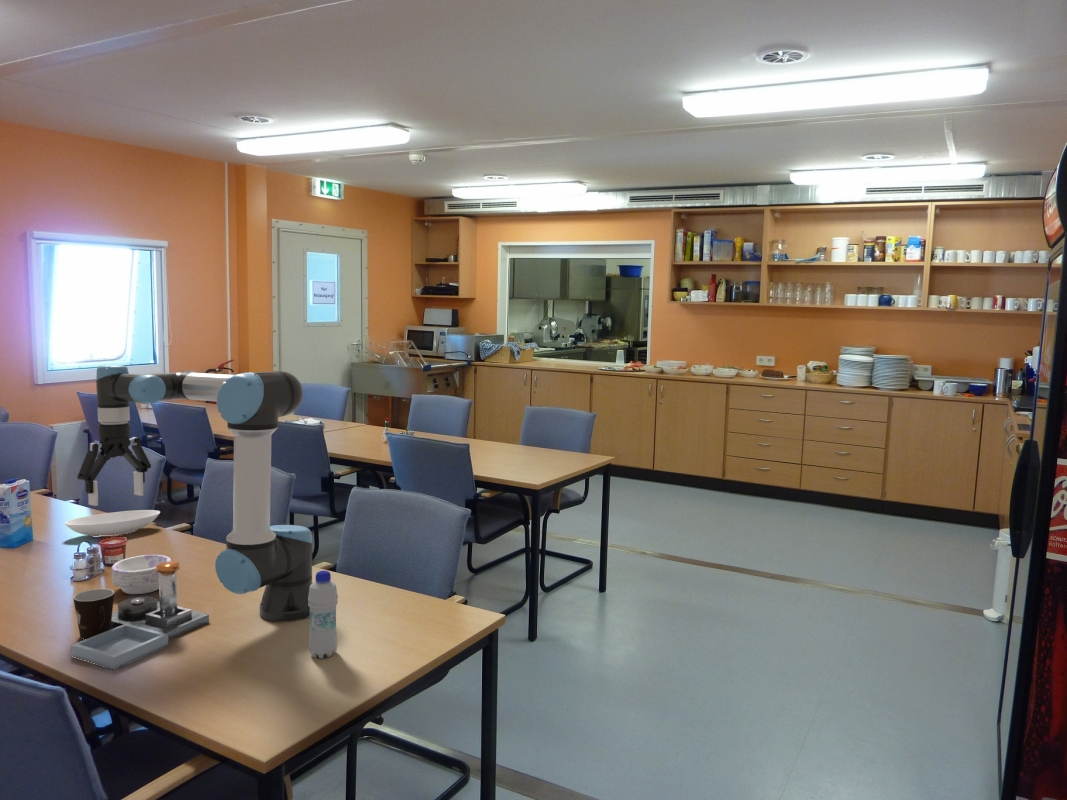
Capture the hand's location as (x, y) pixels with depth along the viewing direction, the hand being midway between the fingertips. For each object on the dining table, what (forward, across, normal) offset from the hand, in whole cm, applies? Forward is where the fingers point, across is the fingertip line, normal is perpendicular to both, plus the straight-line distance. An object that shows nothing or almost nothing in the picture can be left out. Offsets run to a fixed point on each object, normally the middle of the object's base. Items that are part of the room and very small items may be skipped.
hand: (116, 500), depth 207 cm
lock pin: (+26, +8, +28) cm, 39 cm away
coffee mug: (+28, +20, +17) cm, 39 cm away
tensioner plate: (+28, +8, +23) cm, 37 cm away
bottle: (+28, +3, +72) cm, 78 cm away
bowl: (+27, -42, -57) cm, 76 cm away
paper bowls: (+28, -8, -1) cm, 29 cm away
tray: (+28, +23, +30) cm, 47 cm away
